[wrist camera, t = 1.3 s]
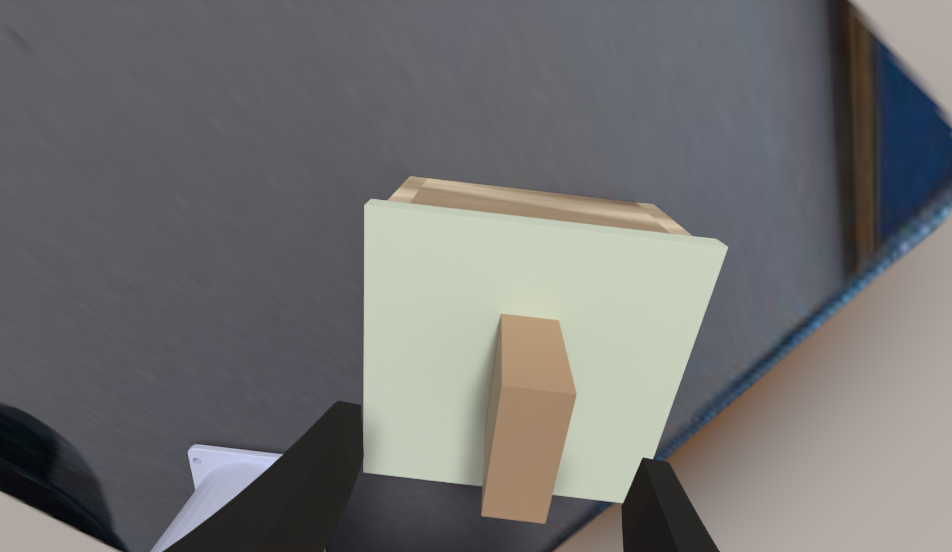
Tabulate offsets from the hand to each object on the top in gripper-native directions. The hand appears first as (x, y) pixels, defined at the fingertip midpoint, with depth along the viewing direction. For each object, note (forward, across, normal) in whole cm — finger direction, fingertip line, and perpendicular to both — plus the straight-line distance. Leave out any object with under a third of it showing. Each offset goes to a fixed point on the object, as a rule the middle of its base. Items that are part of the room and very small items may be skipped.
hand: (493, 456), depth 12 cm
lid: (+6, 0, +2) cm, 6 cm away
